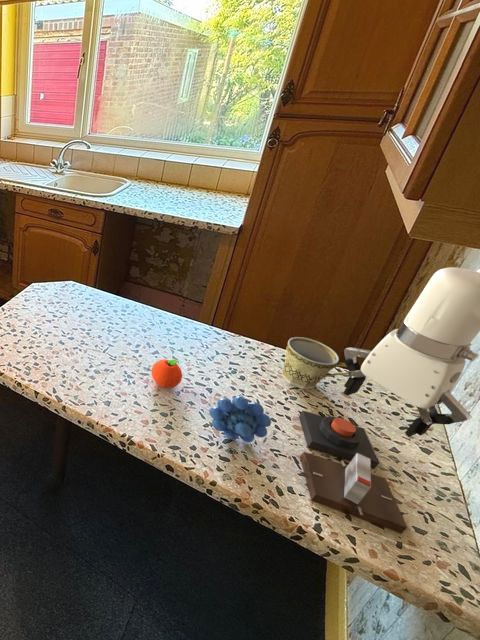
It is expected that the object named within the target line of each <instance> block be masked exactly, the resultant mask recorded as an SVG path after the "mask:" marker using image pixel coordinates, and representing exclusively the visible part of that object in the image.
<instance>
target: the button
mask: <svg viewBox="0 0 480 640" xmlns="http://www.w3.org/2000/svg"><path fill="white" fill-rule="evenodd" d="M355 426H356V425H354V424H353V423H352V422H350V421H349V420H347V419H345V418H342V417H337V418H335V419H334V420H333V422H332V424H331V428H332V429H333V430H334V431H335V432H336V433H338V434H340V435H341V436H344V437H352V436H353V434H354V433H355V431H356V428H355Z"/></svg>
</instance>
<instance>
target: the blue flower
mask: <svg viewBox="0 0 480 640" xmlns="http://www.w3.org/2000/svg"><path fill="white" fill-rule="evenodd" d="M216 405H217V406H212V407H210V408H209V410H208V412H209V415H210V416H211V418H212V420H211V425H212V427H213V428H214V430H217V432H223V435H224V436H225V437H226V438H227V439H228V440H232V441H233V440H235V441H236V440H237V439H239V438H240V440H242V441H243V442H245V443H252V442H253V441H254V440H255V436H256V437H258V438H265V437H267V435H268V429H267V428H269V427H270V426H271V424H272V419H271V418H270V416H269V415H268V414H266V413H264V412H265V410H264V407H263V406H262V405H261V403H258V402H256V401H252V402H251V401H250V402H249V401H248V400H247V399H246V398H245V397H243V396H241V395H236V396H234V397H233V398H232V399H231V400H230V399H228V398H227V397H221V398H219V399H218V400H217V401H216Z"/></svg>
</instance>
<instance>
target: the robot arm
mask: <svg viewBox="0 0 480 640" xmlns="http://www.w3.org/2000/svg"><path fill="white" fill-rule="evenodd" d="M479 333H480V268H479V269H477V270H473V269H469V268H464V267H463V268H462V267H453V266H452V267H451V266H450V267H444V268H440V269H438V270H437V271H435V273H433V275H432V276H431V277H430V279H429V280H428V282H427V284H426V285H425V286H424V288H423V290H422V292H421V293H420V294H419V296H418V298H417V299H416V300H415V302H414V303H413V305H412V307H411V308H410V310H409V312H408V313H407V314H406V316H405V318H404V319H403V321H402V323H401V324H400V325H399V327H398V328H396V329H393V330H392V331H390V332H389V333H388V334H387V335H385V336H384V337H383V338H382V339H381V340H380V341H379V343H377V344H376V346H375V347H374V348H373V349H372V350H370V349H363V348H358V347H352V346H349V347H346V348H344V349H343V352H344V358H345V360H344V363H345V364H346V366H347V367H346V368H347V370H348V371H347V372H348V374H347V375H348V379H347V380H346V382H345V384H344V385H343V387H344V388H345V389H344V391H342V392H343V395H345V396H351V395H353V394H356V393H358V392H359V391H360V389H361V387H362V386H363V384H364V383H365V381H366V379H369V380H371V381H372V382H374V383H375V384H377V385H379V386H380V387H382V388H383V389H385V390H387V391H389V392H390V393H392V394H394V395H396V396H397V397H399V398H401V399H402V400H404V401H406V402H407V403H409V404H411V405H413V406H415V407H416V408H417V412H418V414H419V416H418V417H416V418H415V419H414V420H413V422H411V424H410V425H409V426H408V428H407V429H406V430H405V432H404V434H405V435H406V436H407V437H409V438H410V437H412V436H416V435H419V436H424V434H425V433H427V432H428V430H430V428H431V427H432V425H452V424H457V423H462V422H466V421H468V420H470V419H472V415H471V413H470V412H469V411H468V410H467V409H466V408H465V407H464V406H463V405H462V404H461V402H460V401H459V400H457V398H456V397H455V396H454V395H453V394H451V393H452V391H453V390H454V388H455V386H457V383H458V381H459V380H460V378H461V376H462V374H463V371H464V369H465V366H466V360H468V361H469V362H474V361H475V360H476V359H477V358H478V357H479V354H478V353H476V352H474V351H473V350H471V346H472V342H473V341H474V339H475V338H476V337H477V336H478V334H479ZM357 357H358V358H363V359H364V361H363V362H362V364H360V363H359V361H358V358H357ZM441 404H443V405H444V406H445V407H446V408H447V409H448V410H449V411H450V413H441V412H440V410H439V407H438V405H441Z"/></svg>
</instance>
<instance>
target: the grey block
mask: <svg viewBox="0 0 480 640" xmlns="http://www.w3.org/2000/svg"><path fill="white" fill-rule="evenodd" d="M346 466H347V467H346V469H345V488H344V498H346V499H348V500H350V501H352V502H354V503H356V504H359V502H360V501H361V500H362V499H363V497H364V496H365V495H366V494H367V492H368V491H369V490H370V489H371V474H372V473H371V472H372V471H371V470H372V468H371V459H369V458H367V457H365V456H363V455H361V454H358V453H356V455H355V456H354V458H353V459H352V460H351V462H350V461H349V463H348V464H347V465H346Z"/></svg>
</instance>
